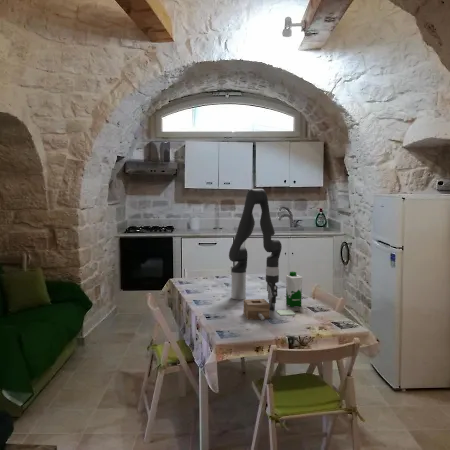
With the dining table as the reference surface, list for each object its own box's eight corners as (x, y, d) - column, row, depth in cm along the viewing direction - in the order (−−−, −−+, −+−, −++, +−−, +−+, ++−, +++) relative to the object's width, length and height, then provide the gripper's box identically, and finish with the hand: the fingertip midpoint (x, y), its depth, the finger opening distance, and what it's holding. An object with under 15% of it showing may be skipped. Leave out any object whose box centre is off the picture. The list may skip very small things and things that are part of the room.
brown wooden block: (243, 313, 265) (243, 299, 264) (263, 312, 267) (264, 298, 266) (251, 324, 244) (251, 309, 243) (273, 323, 246) (273, 308, 245)
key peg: (266, 308, 274) (267, 286, 273) (274, 308, 275) (274, 286, 274) (268, 311, 270) (269, 288, 269) (276, 310, 271) (277, 288, 269)
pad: (275, 311, 269) (275, 310, 269) (290, 310, 271) (290, 309, 271) (280, 315, 260) (280, 314, 260) (295, 315, 262) (295, 314, 262)
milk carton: (297, 303, 288) (298, 271, 287) (303, 306, 280) (304, 274, 278) (284, 303, 286) (284, 271, 284) (290, 307, 277) (290, 274, 276)
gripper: (263, 271, 277) (262, 298, 278) (269, 276, 263) (268, 304, 264) (275, 271, 278) (274, 298, 280) (282, 276, 264) (281, 304, 266)
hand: (271, 301), depth 272 cm, fingers open, 8 cm apart
